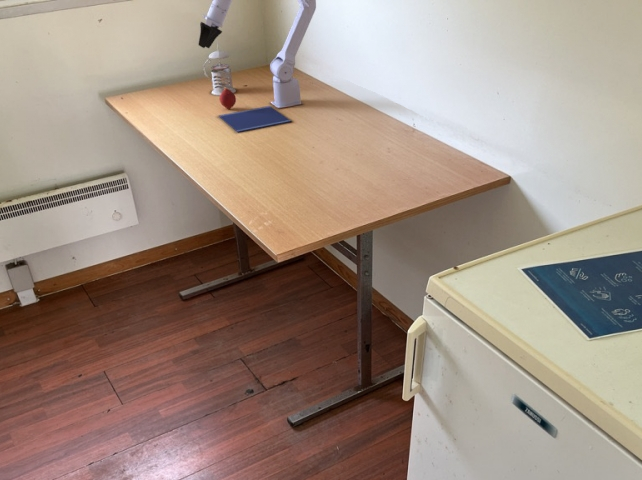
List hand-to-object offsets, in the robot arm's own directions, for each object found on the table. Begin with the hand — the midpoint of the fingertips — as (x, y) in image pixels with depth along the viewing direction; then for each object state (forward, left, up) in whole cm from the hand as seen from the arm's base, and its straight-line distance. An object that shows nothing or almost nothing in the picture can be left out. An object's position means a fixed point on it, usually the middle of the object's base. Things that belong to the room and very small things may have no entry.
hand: (203, 46), depth 227 cm
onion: (-7, -3, -24) cm, 25 cm away
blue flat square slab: (-11, +13, -23) cm, 29 cm away
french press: (-12, -26, -24) cm, 37 cm away
